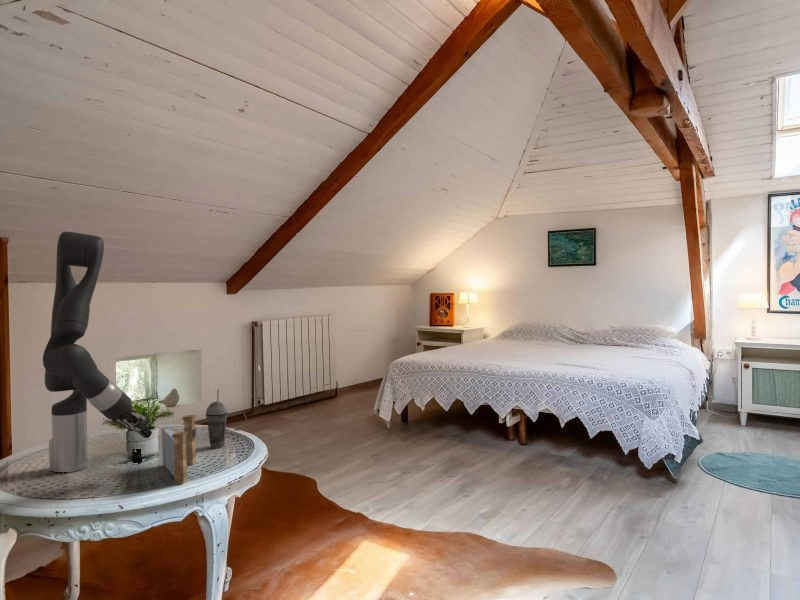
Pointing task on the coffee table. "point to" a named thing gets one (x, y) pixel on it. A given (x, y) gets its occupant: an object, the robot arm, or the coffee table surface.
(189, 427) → the post
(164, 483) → the coffee table surface
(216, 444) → the beverage cup
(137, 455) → the black stepped block
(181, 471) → the hinge post
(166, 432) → the gate
